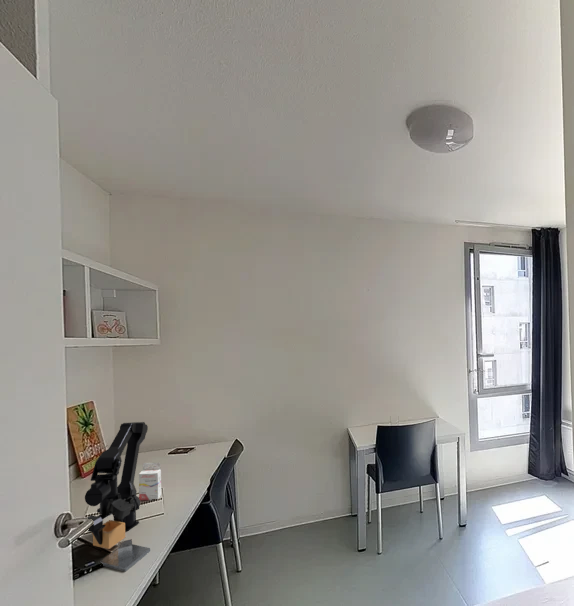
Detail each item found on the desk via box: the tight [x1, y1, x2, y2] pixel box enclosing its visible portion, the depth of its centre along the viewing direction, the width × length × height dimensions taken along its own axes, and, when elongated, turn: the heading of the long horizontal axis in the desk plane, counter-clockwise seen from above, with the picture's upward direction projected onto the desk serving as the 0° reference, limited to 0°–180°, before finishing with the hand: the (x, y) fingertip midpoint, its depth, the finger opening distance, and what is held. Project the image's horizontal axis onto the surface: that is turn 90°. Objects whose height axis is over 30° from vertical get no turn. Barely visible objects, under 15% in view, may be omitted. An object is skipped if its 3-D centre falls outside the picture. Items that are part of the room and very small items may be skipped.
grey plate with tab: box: [99, 538, 151, 573], centre depth 125 cm, size 11×11×4 cm
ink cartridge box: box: [138, 462, 162, 501], centre depth 169 cm, size 9×5×15 cm, turn 92°
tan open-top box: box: [91, 519, 126, 550], centre depth 132 cm, size 7×10×5 cm
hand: (109, 538), depth 131 cm, fingers closed on tan open-top box, 7 cm apart
